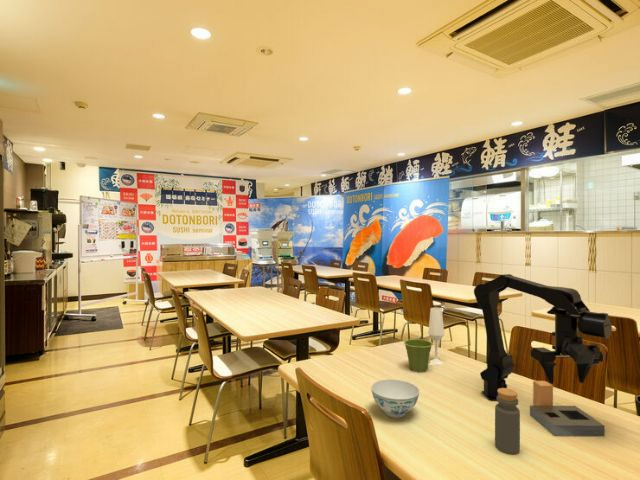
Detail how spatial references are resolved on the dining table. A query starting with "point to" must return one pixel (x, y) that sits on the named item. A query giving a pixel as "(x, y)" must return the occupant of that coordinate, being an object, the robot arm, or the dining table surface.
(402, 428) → the dining table surface
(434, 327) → the champagne flute
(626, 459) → the dining table surface
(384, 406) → the chinaware
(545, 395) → the peg
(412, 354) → the plant pot
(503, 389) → the bottle
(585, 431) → the socket plate
